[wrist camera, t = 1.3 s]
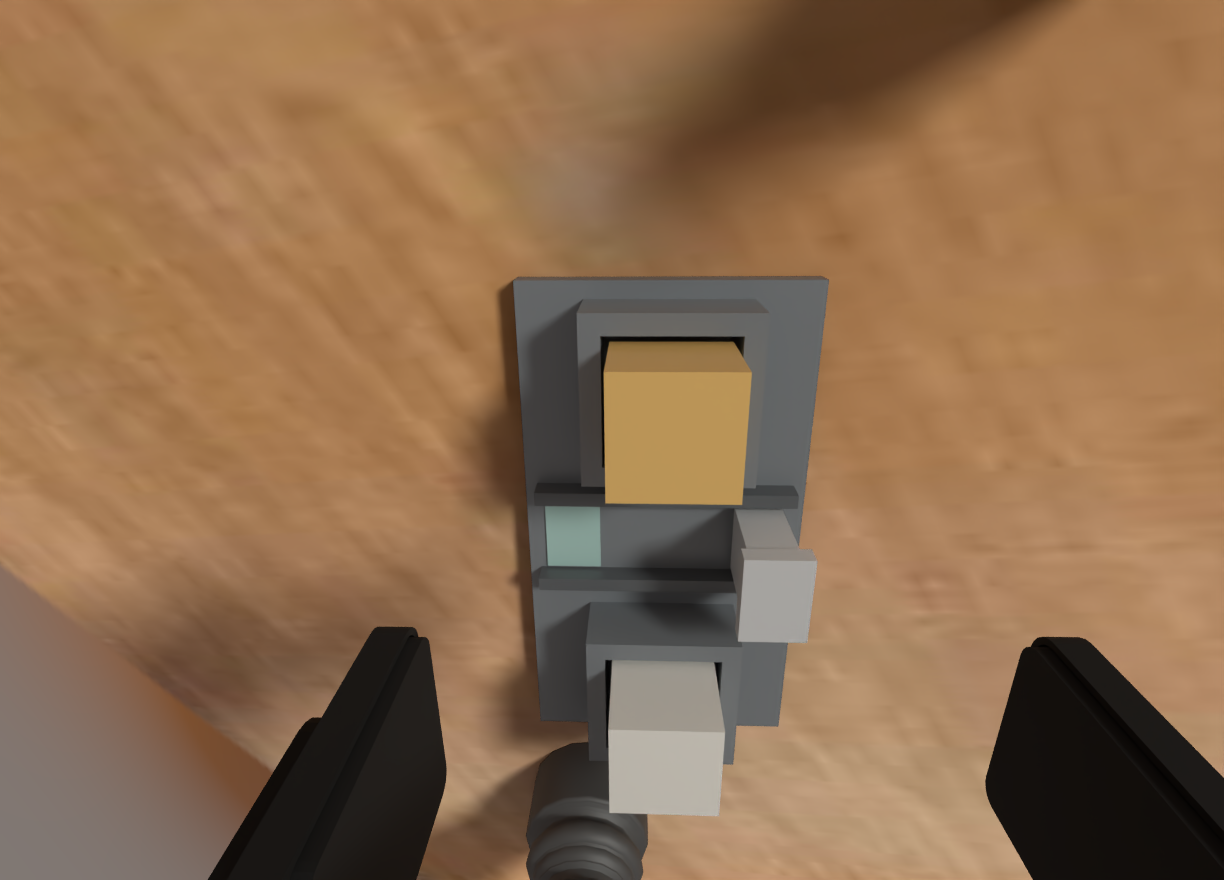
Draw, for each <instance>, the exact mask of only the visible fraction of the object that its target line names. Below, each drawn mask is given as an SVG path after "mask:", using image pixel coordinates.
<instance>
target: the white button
mask: <svg viewBox="0 0 1224 880" xmlns="http://www.w3.org/2000/svg"><path fill="white" fill-rule="evenodd" d="M608 740H609V813H630V814H664V815H697V816H719V809H720V795H721V782H722V768H723V755H724V741H725V728H724V722H723V716H722V709H721V703H720V696H719V690H718V684H717V677H716V671H715V664H714V662H682V661H634V660H612V674H611V692H610V710H609V727H608Z"/></svg>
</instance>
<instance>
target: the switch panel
mask: <svg viewBox="0 0 1224 880" xmlns="http://www.w3.org/2000/svg"><path fill="white" fill-rule="evenodd" d="M828 284H829V279H827V278H825V277H823V276H712V277H517V278H516V279H514V280H513V288H514V303H515V319H516V335H517V351H518V367H519V383H520V399H521V415H522V430H523V446H524V462H525V478H526V494H527V510H528V526H529V542H530V557H531V573H532V589H533V605H534V621H535V637H536V653H537V669H538V684H539V700H540V716H541V721H573V722H588V740H589V761H609V740H608V727H609V710H610V692H611V674H612V660H634V661H682V662H714V664H715V671H716V677H717V684H718V690H719V696H720V703H721V709H722V716H723V722H724V728H725V741H724V755H723V764H733V760H734V747H735V735H736V725H738V726H778V724H779V715H780V707H781V698H782V689H783V680H784V671H785V663H786V654H787V645H788V643H783V642H738V639H737V635H736V630H735V623H736V610H737V593H736V589H735V585H734V581H733V576H732V572H731V568H730V563H731V549H732V534H733V520H734V508H749V509H782V510H783V512H784V514H785V517H786V519H787V521H788V524H789V526H790V528H791V530H792V533H793V535H794V537H795V539H796V542H797V544H798V546H799V539H800V531H801V522H802V513H803V504H804V495H805V486H806V478H807V469H808V460H809V451H810V442H811V434H812V425H813V416H814V407H815V398H816V390H817V381H818V372H819V363H820V354H821V346H822V337H823V328H824V319H825V310H826V301H827V293H828ZM609 342H734V343H735V345H736V347H737V348H738V350H739V352H740V353H741V355H742V357H743V358H744V360H745V362H746V363H747V365H748V367H749V368H750V370H751V372H752V378H751V392H750V405H749V419H748V432H747V446H746V459H745V472H744V486H743V499H742V505H708V504H616V503H605V432H604V368H605V363H606V357H607V352H608V347H609Z"/></svg>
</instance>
